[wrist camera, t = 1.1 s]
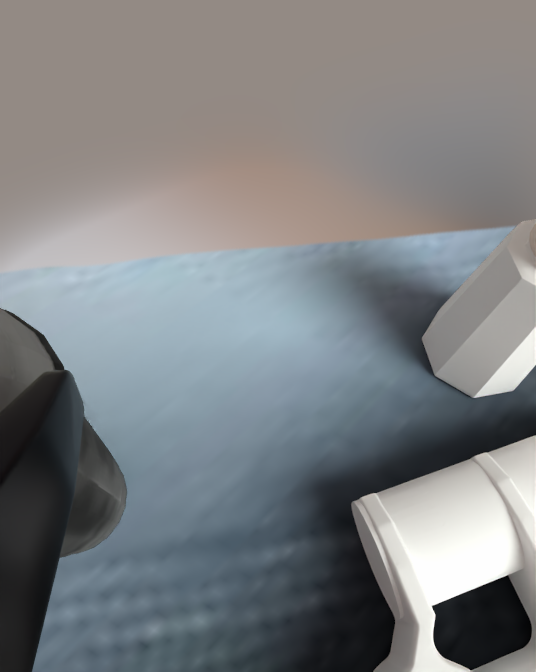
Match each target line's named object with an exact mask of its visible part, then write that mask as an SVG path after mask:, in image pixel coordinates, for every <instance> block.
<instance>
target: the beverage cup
mask: <svg viewBox="0 0 536 672" xmlns="http://www.w3.org/2000/svg"><path fill="white" fill-rule="evenodd" d="M56 370H64V366H63V364H62V363H61V361H60V360H59V358H58V357H57V355H56V354H55V352H54V350H53V349H52V347H51V346H50V344H49V343H48V341H47V339H46V338H45V336H44V335H43V334H41V333H40V332H39V331H37V330H36V329H34V328H33V327H32V326H30V325H29V324H27V323H26V322H25V321H23V320H22V319H20V318H19V317H18V316H16V315H15V314H13V313H11V312H9V311H6V310H3V309H1V308H0V412H1V411H2V410H3V409H4V408H5V407H6V406H8V405H9V404H10V403H11V402H12V401H13V400H14V399H15V398H16V397H17V396H18V395H19V394H20V393H22V392H23V391H24V390H25V389H26V388H27V387H28V386H29V385H30V384H31V383H32V382H33V381H34V380H36V379H37V378H38V377H39V376H40V375H41V374H42V373H44V372H46V371H56ZM126 495H127V489H126V484H125V480H124V475H123V474H122V472H121V471H120V469H119V466H118V464H117V463H116V461H115V460H114V458H113V456H112V455H111V453H110V452H109V450H108V449H107V448H106V446H105V445H104V443H103V442H102V441H101V439H100V438H99V436H98V435H97V434H96V432H95V431H94V430H93V428H92V427H91V425H90V424H89V423H88V421H87V420H86V418H85V417H84V420H83V428H82V436H81V445H80V453H79V462H78V470H77V479H76V486H75V493H74V498H73V503H72V508H71V512H70V516H69V520H68V524H67V529H66V533H65V537H64V541H63V545H62V549H61V553H60V557H65V556H68V555H71V554H77V553H80V552H83V551H86V550H88V549H91V548H94V547H95V546H97V545H98V544H99V543H101V542H102V541H103V540H105V539H106V538H107V537H108V536H109V535H110V534H111V532H112V531H113V530H114V529H115V527H116V526H117V525H118V523H119V521H120V519H121V516H122V514H123V511H124V509H125V506H126Z"/></svg>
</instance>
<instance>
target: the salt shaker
mask: <svg viewBox="0 0 536 672" xmlns="http://www.w3.org/2000/svg"><path fill="white" fill-rule="evenodd" d="M422 341H423V344H424V347H425V350H426V353H427V355H428V358H429V361H430V364H431V367H432V370H433V372H434V375H435V376H436V377H438V378H440V379H441V380H443V381H445V382H446V383H448V384H450V385H452V386H453V387H455V388H457V389H458V390H460V391H462V392H464V393H465V394H467V395H469V396H470V397H472V398H476V397H482V396H487V395H493V394H498V393H503V392H509V391H513V390H514V389H515V388H516V387H517V386H518V385H519V384H520V382H521V381H522V380H523V379H524V378H525V377H526V375H527V374H528V373H529V372H530V371H531V370H532V368H533V367H534V366H535V365H536V219H534V220H527V221H522V222H520V223H519V224H518V225H517V226H516V227H515V228H514V229H513V230H512V231H511V232H510V233H509V234H508V235H507V236H506V237H505V239H504V240H503V241H502V242H501V243H500V244H499V245H498V246H497V247H496V248H495V249H494V250H493V252H492V253H491V254H490V255H489V256H488V257H487V258H486V259H485V260H484V261H483V262H482V264H481V265H480V266H479V267H478V268H477V269H476V270H475V271H474V272H473V273H472V274H471V276H470V277H469V278H468V279H467V280H466V281H465V282H464V283H463V284H462V285H461V286H460V287H459V289H458V290H457V291H456V292H455V293H454V294H453V295H452V296H451V297H450V298H449V299H448V301H447V302H446V303H445V304H444V305H443V306H442V307H441V308H440V309H439V311H438V312H437V314H436V316H435V317H434V319H433V321H432V322H431V324H430V326H429V327H428V329H427V330H426V332H425V334H424V335H423V337H422Z"/></svg>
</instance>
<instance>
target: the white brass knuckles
mask: <svg viewBox="0 0 536 672" xmlns="http://www.w3.org/2000/svg"><path fill="white" fill-rule="evenodd" d="M351 507H352V512H353V516H354V520H355V523H356V527H357V530H358V533H359V536H360V539H361V542H362V545H363V548H364V551H365V553H366V556H367V558H368V561H369V563H370V566H371V568H372V571H373V573H374V576H375V578H376V580H377V582H378V585H379V587H380V589H381V591H382V593H383V595H384V597H385V599H386V601H387V603H388V605H389V607H390V609H391V611H392V612H393V615H394V617H395V627H394V633H393V639H392V645H391V651H390V654H389V656H388V657H387V658H386V659H385V660H384V661H383V662H381V663H380V664H379V665H378V666H377V667H376V669H375V670H374V671H373V672H536V435H535V436H532V437H529V438H526V439H524V440H521V441H518V442H515V443H513V444H510V445H507V446H504V447H502V448H499V449H496V450H493V451H491V452H488V453H486V452H485V453H482V454H479V455H476V456H474V457H472V458H471V459H469V460H466V461H463V462H460V463H458V464H455V465H452V466H449V467H447V468H444V469H441V470H438V471H436V472H433V473H430V474H427V475H425V476H422V477H419V478H416V479H414V480H411V481H408V482H405V483H403V484H400V485H397V486H394V487H392V488H389V489H386V490H383V491H381V492H378V493H372V494H369V495H366V496H364V497H361V498H360V499H359V500H356V501H353V502H352V504H351ZM507 575H508V576H509V578H510V580H511V582H512V584H513V586H514V588H515V590H516V592H517V594H518V596H519V598H520V601H521V603H522V605H523V607H524V609H525V611H526V613H527V615H528V617H529V619H530V622H531V626H532V635H531V639H530V641H529V643H528V644H527V645H526V646H525V647H524V648H522V649H520V650H517V651H515V652H513V653H510V654H508V655H506V656H503V657H501V658H499V659H496V660H494V661H492V662H490V663H487V664H485V665H483V666H480V667H478V668H476V669H473V670H469V669H468V668H466V667H464V666H462V665H459V664H457V663H455V662H452V661H450V660H448V659H445V658H443V657H442V656H441V655H440V654H439V652H438V651H437V649H436V647H435V645H434V641H433V629H434V622H435V613H434V611H433V608H432V606H433V605H435V604H438V603H440V602H443V601H445V600H448V599H450V598H452V597H455V596H457V595H460V594H462V593H465V592H467V591H470V590H472V589H475V588H477V587H480V586H482V585H484V584H487V583H489V582H492V581H494V580H497V579H499V578H502V577H504V576H507Z"/></svg>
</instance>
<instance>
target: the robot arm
mask: <svg viewBox="0 0 536 672" xmlns="http://www.w3.org/2000/svg"><path fill="white" fill-rule="evenodd" d="M83 420H84V405H83V401H82V398H81V396H80V393H79V391H78V388H77V385H76V383H75V380H74V377H73V375H72V374H71V372H70V371H68V370H56V371H46V372H44V373H42V374H41V375H40V376H39V377H38V378H37V379H36V380H34V381H33V382H32V383H31V384H30V385H29V386H28V387H27V388H26V389H25V390H24V391H23V392H22V393H20V394H19V395H18V396H17V397H16V398H15V399H14V400H13V401H12V402H11V403H10V404H9V405H8V406H6V407H5V408H4V409H3V410H2V411H1V412H0V672H32V669H33V665H34V661H35V657H36V652H37V648H38V644H39V640H40V636H41V632H42V628H43V624H44V619H45V615H46V611H47V607H48V603H49V599H50V595H51V591H52V586H53V582H54V578H55V574H56V570H57V566H58V562H59V557H60V553H61V549H62V545H63V541H64V537H65V533H66V529H67V524H68V520H69V516H70V512H71V508H72V503H73V498H74V493H75V486H76V479H77V470H78V462H79V453H80V445H81V436H82V428H83Z"/></svg>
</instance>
